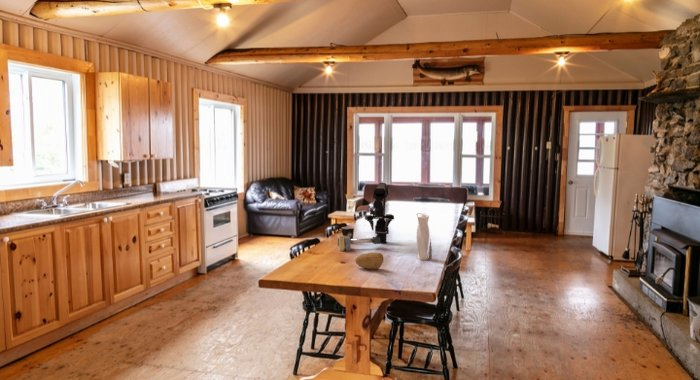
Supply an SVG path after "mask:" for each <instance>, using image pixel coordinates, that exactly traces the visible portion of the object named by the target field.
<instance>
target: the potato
mask: <svg viewBox="0 0 700 380" xmlns="http://www.w3.org/2000/svg"><path fill="white" fill-rule="evenodd" d="M354 262H355V264H357V265H358V267H360V268H363V269H365V270H370V271H371V270H378V269H380V268H381V267H382V265H383V263H384V255H383V254H382V253H381V252H371V251H370V252H366V253H362V254H359V255H357V257H355V260H354Z"/></svg>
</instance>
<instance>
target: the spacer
mask: <svg viewBox="0 0 700 380" xmlns="http://www.w3.org/2000/svg"><path fill="white" fill-rule="evenodd" d="M336 239H337V240H336V246H337V247H336V249H337V250H338V252H344V251H345V249H344V236H343V235H342V233H338V234H337V233H336Z"/></svg>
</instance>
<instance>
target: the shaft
mask: <svg viewBox="0 0 700 380" xmlns="http://www.w3.org/2000/svg"><path fill="white" fill-rule="evenodd" d="M352 244H353V245H354V244H355V245H356V244H373V245H381V243H380V237H376V236H372V238H370V237H368V238H367V237H366V238H353V239H351V245H352Z"/></svg>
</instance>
